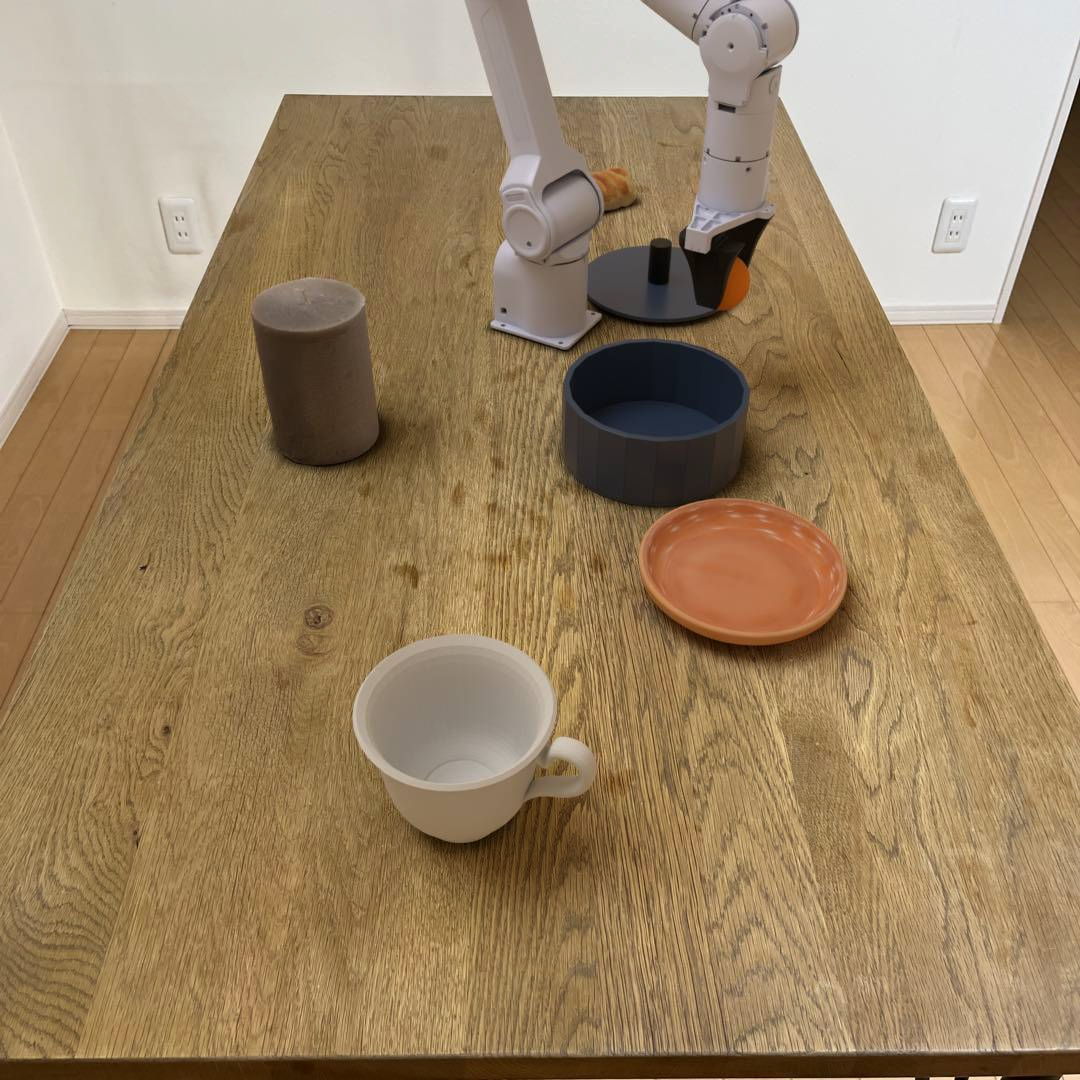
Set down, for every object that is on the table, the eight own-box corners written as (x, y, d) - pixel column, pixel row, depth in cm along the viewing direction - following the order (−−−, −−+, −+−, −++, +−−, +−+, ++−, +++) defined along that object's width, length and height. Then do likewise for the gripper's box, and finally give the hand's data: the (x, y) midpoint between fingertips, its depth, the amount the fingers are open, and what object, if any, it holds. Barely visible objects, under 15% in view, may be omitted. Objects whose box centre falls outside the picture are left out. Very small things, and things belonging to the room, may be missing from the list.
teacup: (553, 934, 65) (556, 835, 58) (334, 848, 69) (313, 747, 63) (622, 779, 73) (631, 678, 67) (422, 712, 78) (412, 610, 71)
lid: (553, 302, 122) (553, 255, 118) (624, 241, 133) (626, 197, 130) (695, 343, 116) (701, 295, 112) (758, 276, 127) (764, 230, 123)
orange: (681, 311, 103) (686, 260, 100) (704, 288, 107) (709, 238, 103) (733, 326, 101) (740, 274, 98) (754, 301, 105) (762, 251, 101)
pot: (529, 470, 99) (528, 404, 94) (613, 384, 110) (616, 322, 105) (695, 529, 93) (703, 462, 88) (767, 432, 103) (777, 368, 99)
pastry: (585, 222, 137) (586, 192, 135) (551, 204, 141) (551, 175, 139) (641, 202, 142) (642, 173, 139) (606, 186, 146) (607, 157, 143)
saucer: (838, 535, 92) (844, 507, 90) (844, 676, 80) (852, 647, 78) (646, 514, 94) (649, 486, 92) (625, 648, 82) (627, 620, 81)
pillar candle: (280, 474, 99) (251, 325, 89) (270, 414, 106) (242, 270, 96) (388, 456, 100) (372, 309, 91) (371, 399, 108) (354, 256, 98)
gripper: (748, 189, 88) (729, 339, 97) (810, 130, 98) (787, 271, 106) (667, 171, 91) (656, 318, 100) (736, 115, 100) (719, 254, 109)
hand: (719, 293), depth 103 cm, fingers closed on orange, 5 cm apart
